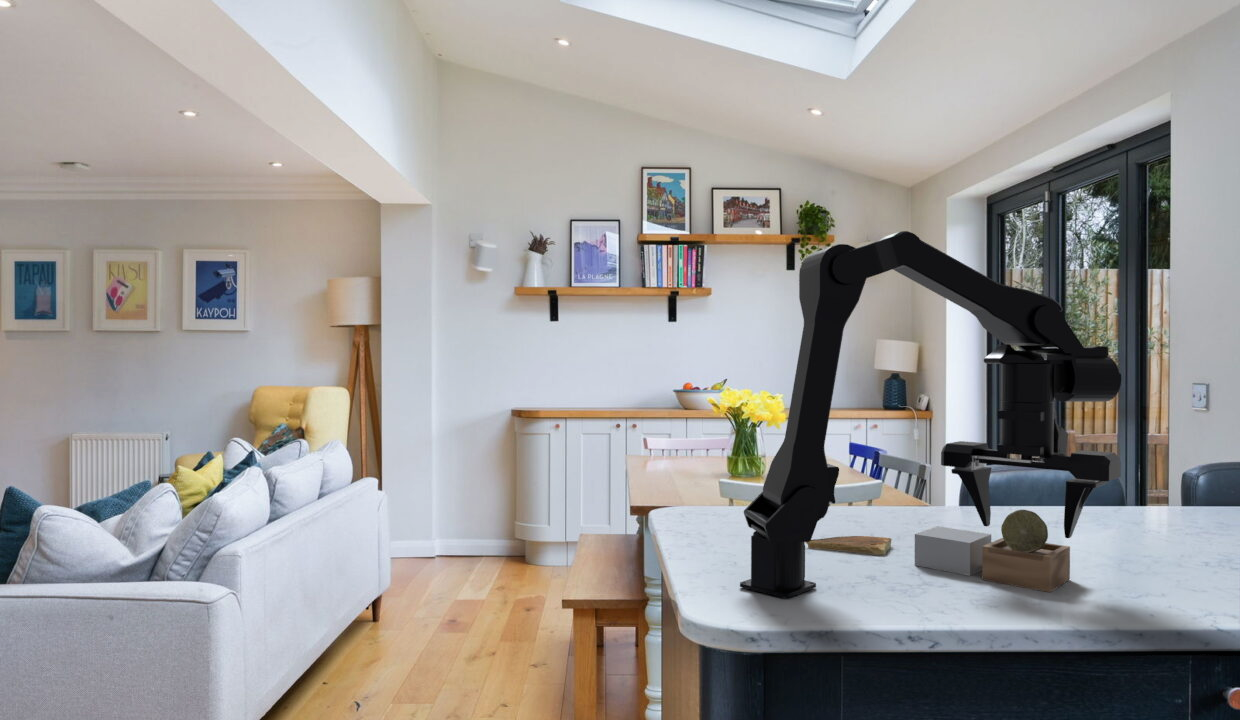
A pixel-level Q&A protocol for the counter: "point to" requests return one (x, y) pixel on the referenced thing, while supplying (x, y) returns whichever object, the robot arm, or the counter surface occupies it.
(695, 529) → the counter surface
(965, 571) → the grey stone block
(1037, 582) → the brown hollow rimmed box
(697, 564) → the counter surface
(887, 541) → the shard
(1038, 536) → the lime
